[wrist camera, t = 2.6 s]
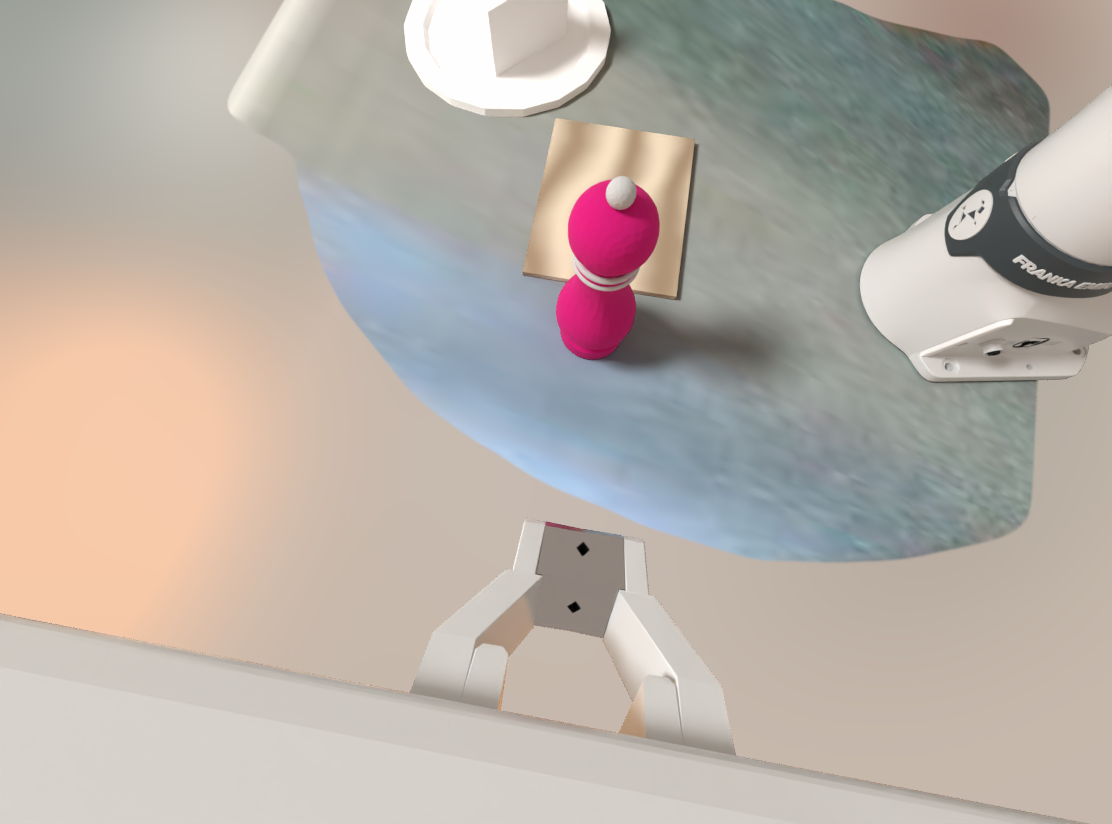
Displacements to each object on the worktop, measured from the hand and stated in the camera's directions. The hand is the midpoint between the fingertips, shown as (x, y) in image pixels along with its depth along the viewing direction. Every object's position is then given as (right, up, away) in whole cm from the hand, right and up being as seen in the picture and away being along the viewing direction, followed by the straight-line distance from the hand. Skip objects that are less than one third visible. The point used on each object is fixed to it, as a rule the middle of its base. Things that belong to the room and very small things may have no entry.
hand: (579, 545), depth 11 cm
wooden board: (+5, +26, +36) cm, 45 cm away
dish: (-7, +50, +43) cm, 66 cm away
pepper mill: (+3, +12, +33) cm, 35 cm away
